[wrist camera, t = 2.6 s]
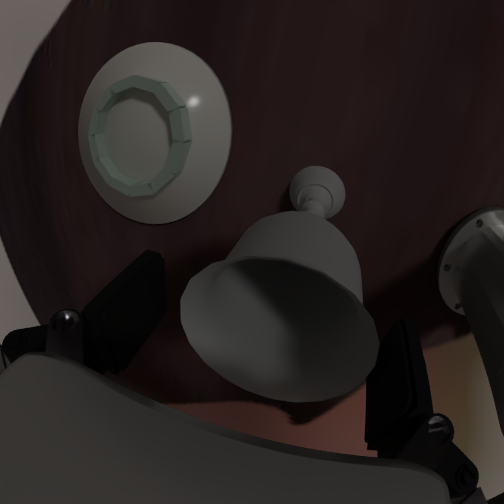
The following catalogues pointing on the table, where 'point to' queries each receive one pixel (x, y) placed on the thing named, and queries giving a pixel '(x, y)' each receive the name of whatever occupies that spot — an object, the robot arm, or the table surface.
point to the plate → (155, 132)
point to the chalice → (286, 302)
